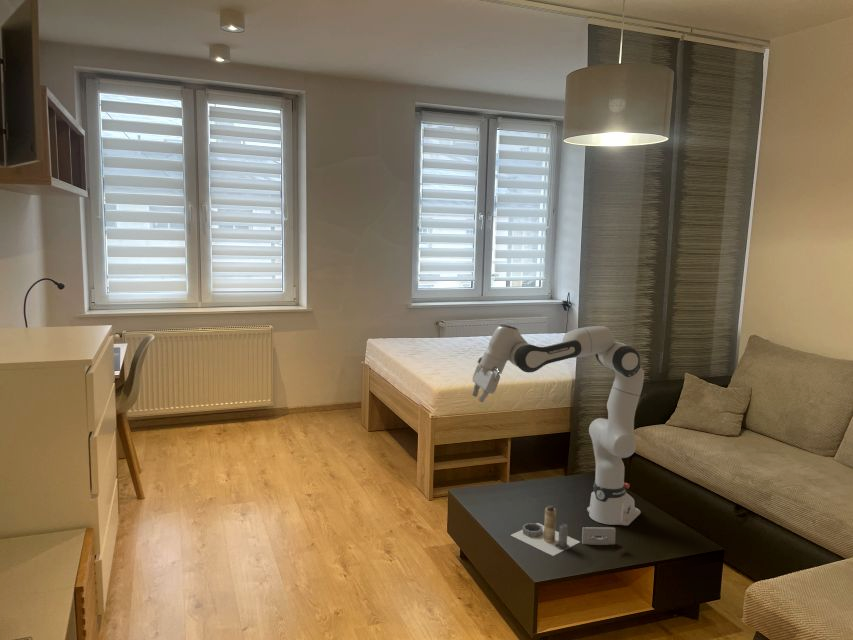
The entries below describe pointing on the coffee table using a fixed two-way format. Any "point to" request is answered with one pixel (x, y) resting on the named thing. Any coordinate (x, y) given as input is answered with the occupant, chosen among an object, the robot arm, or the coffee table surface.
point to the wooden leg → (549, 524)
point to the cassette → (598, 531)
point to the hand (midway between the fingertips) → (477, 398)
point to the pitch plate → (535, 538)
